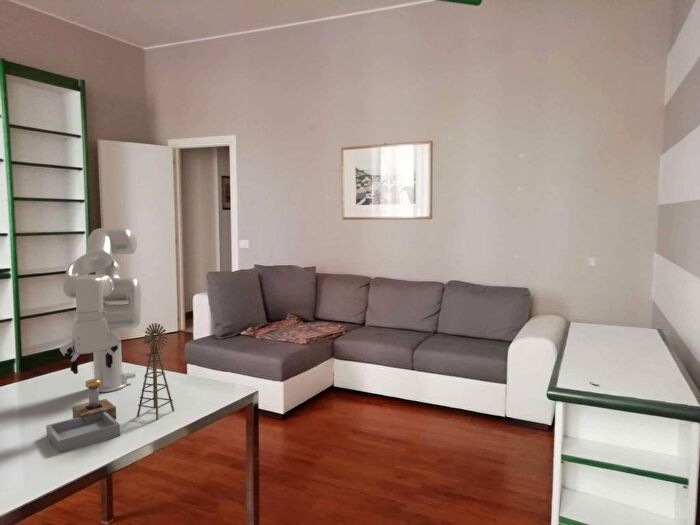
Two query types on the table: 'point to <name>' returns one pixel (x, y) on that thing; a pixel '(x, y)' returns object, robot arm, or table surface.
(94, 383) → the pin
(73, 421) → the tray
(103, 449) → the table surface
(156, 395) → the miniature windmill
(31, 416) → the table surface
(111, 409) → the socket block
